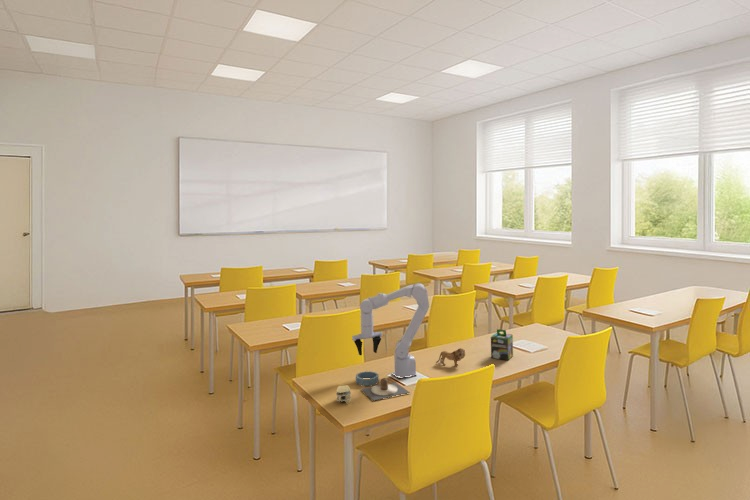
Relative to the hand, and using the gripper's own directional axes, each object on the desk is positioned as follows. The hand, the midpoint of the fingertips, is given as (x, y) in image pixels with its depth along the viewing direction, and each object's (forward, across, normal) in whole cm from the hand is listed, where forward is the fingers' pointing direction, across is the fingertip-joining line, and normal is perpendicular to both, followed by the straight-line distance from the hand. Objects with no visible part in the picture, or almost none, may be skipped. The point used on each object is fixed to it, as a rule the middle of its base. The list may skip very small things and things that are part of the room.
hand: (367, 353), depth 214 cm
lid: (+10, +2, +22) cm, 24 cm away
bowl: (+10, +4, +8) cm, 14 cm away
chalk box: (+11, -72, +9) cm, 73 cm away
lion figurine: (+11, -42, +7) cm, 44 cm away
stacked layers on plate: (+11, +21, +23) cm, 33 cm away
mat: (+10, +2, +22) cm, 24 cm away
